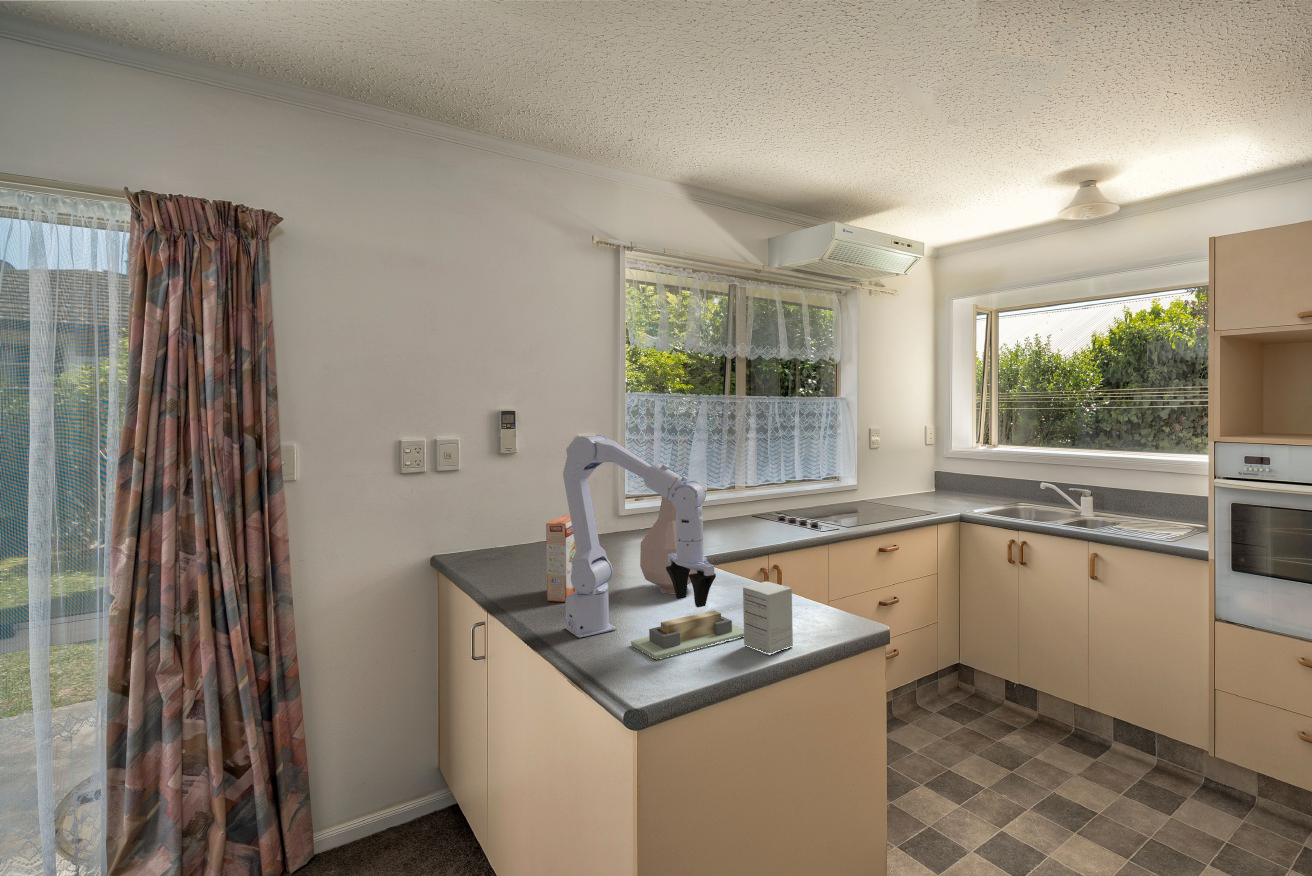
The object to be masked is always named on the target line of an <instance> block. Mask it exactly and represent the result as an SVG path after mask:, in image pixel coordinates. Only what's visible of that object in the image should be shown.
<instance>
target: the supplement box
mask: <svg viewBox="0 0 1312 876" xmlns="http://www.w3.org/2000/svg"><path fill="white" fill-rule="evenodd" d="M742 596H743V597H742V600H743V601H742V603H743V604H742V605H743V607H742V608H743V629H744V638H743V644H744V645H747V646H750V647H752V648H755V649H758V650H761V651H763V652H766V653H773V652H775V651H778V650H782V649H784V648H787V647H790V646H793V645H794V642H793V641H794V639H793V638H794V637H793V634H794V633H793V590H792V587H789V586H786V585H781V584H778V583H774V582H772V581H762V582H758V583H755V584H751V585H747V586H743V588H742ZM793 647H794V646H793Z"/></svg>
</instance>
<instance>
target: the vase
mask: <svg viewBox="0 0 1312 876" xmlns="http://www.w3.org/2000/svg"><path fill="white" fill-rule="evenodd" d="M672 553H677V546H676V509H675V507H674V506H673V504H672V501H669V500H668V499H666V498H664V497H663V496H661V501H660V508H659V511H658V518H657V519H656V521H655V522H654V523H653V525H652V526H651V528H650V529H649V531H648V532H647V534H646V535H645V536H644V537H643V538H642V540H641V541H640V556H639V557H640V558H639V559H640V561H639V562H640V565H639V567H640V569H641V572H642V574H643V577H644V580H646V581H648V582H649V583H651V584H654V586H655V585H656V586H658V587H659V588H660V592H661V593H663V592H664V593H665V594H671V593H674V594H675V590H674V586H673V583H672V580H671V578H670V576H669V574H668V572H667V570H666V567H667V566H671V564H672V563H668V554H672ZM695 573H697V571H695V570H692V569H690V572H689V574H695ZM690 584H692V583H691V580H690V578H689V576H688V582H687V586H688V585H690Z"/></svg>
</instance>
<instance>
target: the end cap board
mask: <svg viewBox="0 0 1312 876" xmlns="http://www.w3.org/2000/svg"><path fill="white" fill-rule="evenodd" d="M648 632H649V633H648V636H647V637H641V638H638V639H637V638H636V639H633V640H631V641H630V646H631V645H632V646H631V647H633V648H634V647H635V649H636V648H637V650H638V649H639V650H641V651H643V652H644V653H646V654H648V655H650V656H651V657H653V658H654V659H656V660H657V659H660V658H665V657H667V656H671V655H675V654H680V653H684V652H686V651H690V650H693V649H697V648H701V647H705V646H708V645H711V644H715V643H717V642H721V641H725V640H729V639H734V638H738V637H743V636H744V628H741V627H739V626H737V625H735V624H733V621H732V619H729V618H727V617H725V616H722V615H721V621H720V622H716V623H714V632H715V633H713V634H709V635H705V636H701V637H697V638H693V639H689V640H685V641H681V642H680V633H679V632H674V633H669V634H663V633H661V625H660V626H658V627H657V626H656V627H652V628H649V629H648ZM639 650H638V651H639ZM641 651H640V652H641ZM643 652H642V653H643ZM644 653H643V654H644ZM646 654H645V655H646ZM684 654H685V653H684ZM648 655H647V656H648ZM680 655H681V654H680ZM651 657H650V658H651ZM654 659H653V660H654ZM665 659H666V658H665ZM656 660H655V661H656ZM657 661H658V660H657Z"/></svg>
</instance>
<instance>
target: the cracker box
mask: <svg viewBox="0 0 1312 876" xmlns="http://www.w3.org/2000/svg"><path fill="white" fill-rule="evenodd" d="M545 537H546V538H545V539H546V542H545V544H546V547H545V548H546V551H545V552H546V553H545V554H546V601H547V602H554V603H555V602H559V603H565V602H566V597H567V596H568V595H569V594H573V593H575V592H576V589H575V588H574V587H573V585H572V583H571V573H572V559H573V557H574V555H575V552H576V546H575V540H574V535H573V529H572V523H571V518H570V514H569V515H562V516H559V517H558V518H556V519H553V520H551V521H548V522H546V524H545Z"/></svg>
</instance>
